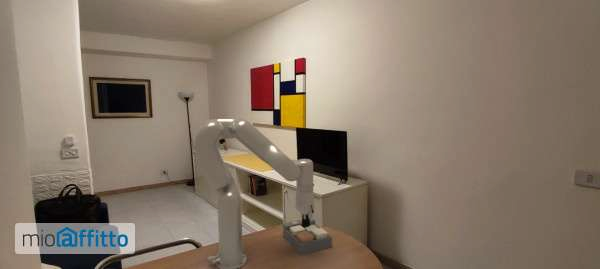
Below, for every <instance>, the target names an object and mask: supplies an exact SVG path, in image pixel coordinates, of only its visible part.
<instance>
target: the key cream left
mask: <svg viewBox="0 0 600 269" xmlns="http://www.w3.org/2000/svg"><path fill="white" fill-rule="evenodd" d="M290 232H291V233H292V234H293V235H294V236H297V234H298V233H302V232H305V229H304V228H303V227H302V226H301V225H298V226H294V227H290Z"/></svg>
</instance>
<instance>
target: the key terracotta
mask: <svg viewBox="0 0 600 269" xmlns="http://www.w3.org/2000/svg"><path fill="white" fill-rule="evenodd" d="M297 239H298V240H299V241H300V242H301V243H305V242H309V241H313V236H312V235H311V234H310V233H309V232H308V231H306V232H302V233H298V234H297Z"/></svg>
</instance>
